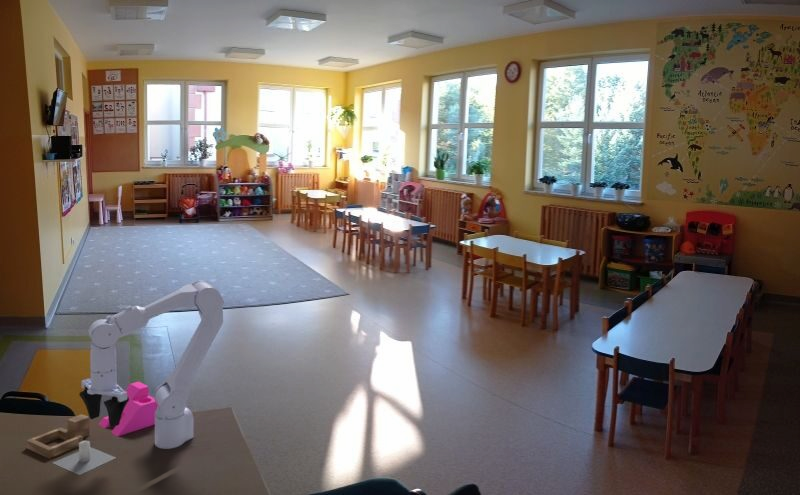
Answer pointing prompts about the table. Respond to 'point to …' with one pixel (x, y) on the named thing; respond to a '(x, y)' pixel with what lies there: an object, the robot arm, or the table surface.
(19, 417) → the table surface
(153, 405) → the bracket
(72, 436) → the walnut link
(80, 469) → the peg stand
